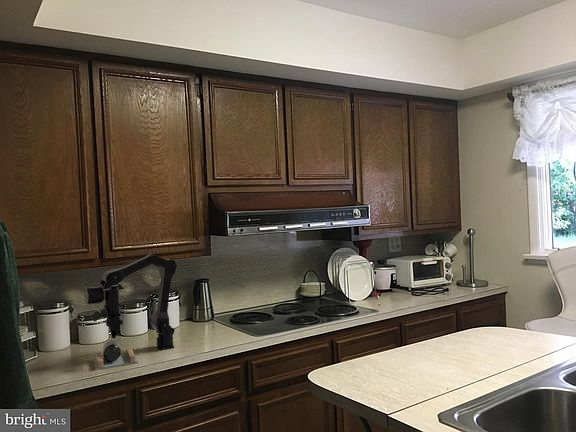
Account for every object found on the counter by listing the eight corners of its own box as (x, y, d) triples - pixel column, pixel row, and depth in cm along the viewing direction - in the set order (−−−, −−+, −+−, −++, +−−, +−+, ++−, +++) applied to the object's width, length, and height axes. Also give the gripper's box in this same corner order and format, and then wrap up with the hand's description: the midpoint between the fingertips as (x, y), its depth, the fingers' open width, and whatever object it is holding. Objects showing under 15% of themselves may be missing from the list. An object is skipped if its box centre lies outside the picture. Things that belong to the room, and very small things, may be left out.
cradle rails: (131, 353, 201) (131, 347, 201) (135, 362, 189) (135, 355, 189) (96, 358, 195) (95, 353, 195) (98, 368, 183) (97, 361, 183)
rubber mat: (133, 354, 202) (133, 353, 202) (138, 363, 190) (138, 361, 190) (93, 360, 195) (93, 359, 195) (95, 370, 183) (95, 368, 183)
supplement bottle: (105, 358, 198) (106, 367, 187) (100, 343, 197) (100, 351, 186) (122, 351, 201) (123, 359, 190) (116, 336, 200) (117, 344, 189)
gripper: (90, 299, 202) (91, 335, 202) (92, 307, 185) (93, 346, 185) (117, 296, 206) (119, 332, 207) (122, 304, 190) (123, 342, 190)
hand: (113, 338), depth 197 cm, fingers closed
